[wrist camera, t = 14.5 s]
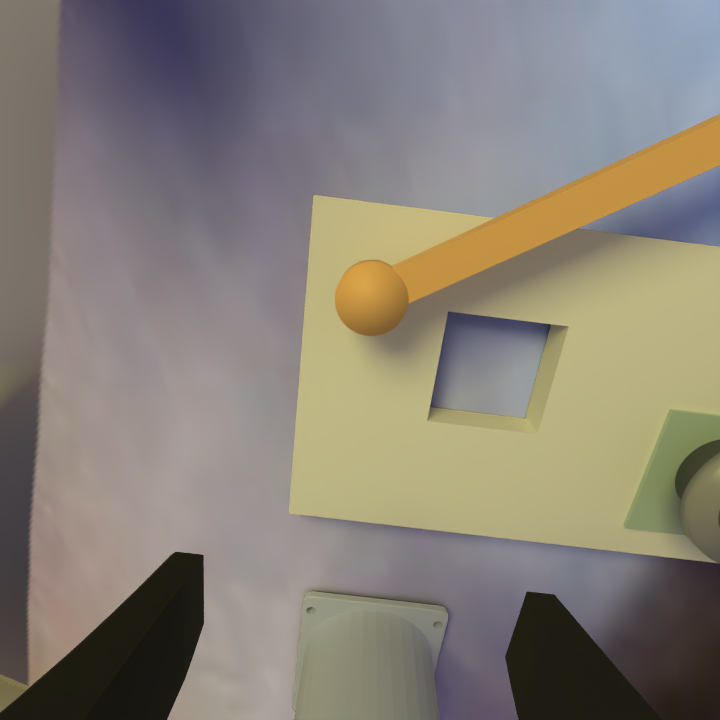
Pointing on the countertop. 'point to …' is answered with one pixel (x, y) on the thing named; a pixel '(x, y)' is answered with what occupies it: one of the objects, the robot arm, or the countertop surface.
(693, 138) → the tan wooden rod
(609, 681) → the robot arm
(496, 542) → the countertop surface
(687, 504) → the plug
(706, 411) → the board
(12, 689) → the green compartment tray
